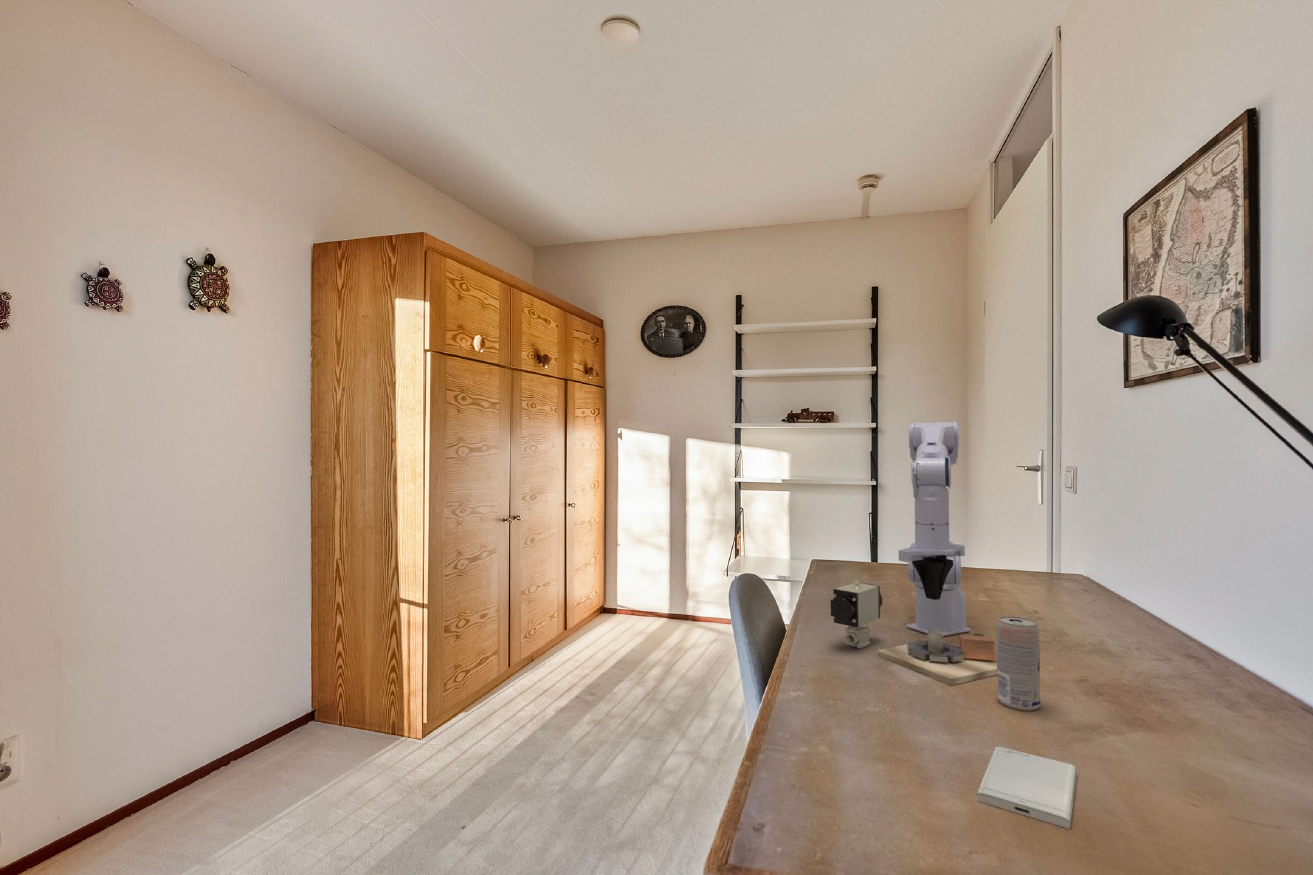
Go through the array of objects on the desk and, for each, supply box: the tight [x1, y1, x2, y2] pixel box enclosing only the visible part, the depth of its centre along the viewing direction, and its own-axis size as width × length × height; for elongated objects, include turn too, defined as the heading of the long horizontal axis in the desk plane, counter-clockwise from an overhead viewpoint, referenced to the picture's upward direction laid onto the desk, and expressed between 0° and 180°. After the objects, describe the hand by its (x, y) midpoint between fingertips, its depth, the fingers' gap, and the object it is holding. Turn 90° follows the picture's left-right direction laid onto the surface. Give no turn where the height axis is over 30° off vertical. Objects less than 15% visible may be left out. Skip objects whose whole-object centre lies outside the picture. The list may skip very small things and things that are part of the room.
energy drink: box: [995, 615, 1041, 712], centre depth 90 cm, size 5×5×12 cm
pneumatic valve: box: [829, 580, 883, 650], centre depth 117 cm, size 6×12×12 cm, turn 133°
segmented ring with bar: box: [906, 634, 996, 662], centre depth 107 cm, size 14×9×3 cm, turn 72°
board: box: [876, 630, 997, 686], centre depth 107 cm, size 15×16×5 cm
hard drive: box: [976, 746, 1077, 830], centre depth 68 cm, size 2×8×12 cm
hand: (932, 598), depth 112 cm, fingers closed
